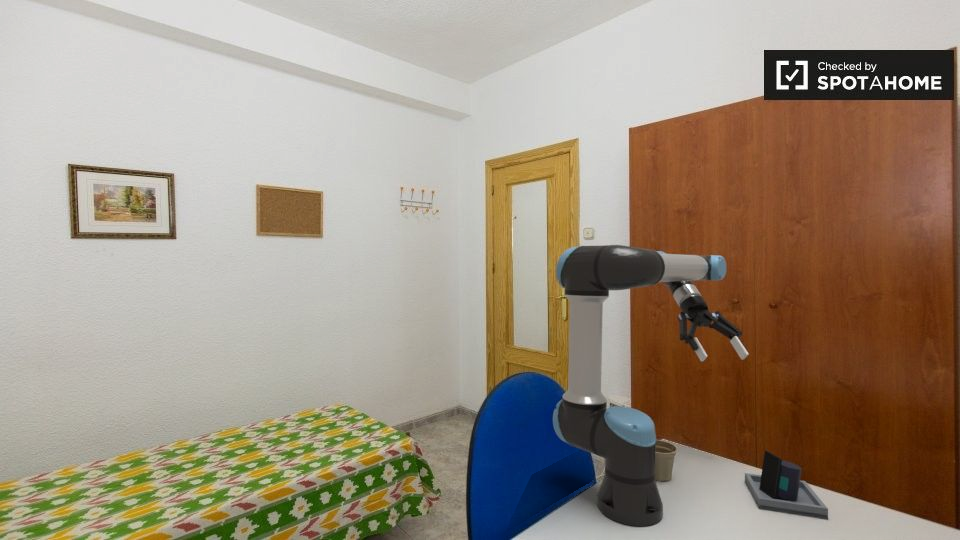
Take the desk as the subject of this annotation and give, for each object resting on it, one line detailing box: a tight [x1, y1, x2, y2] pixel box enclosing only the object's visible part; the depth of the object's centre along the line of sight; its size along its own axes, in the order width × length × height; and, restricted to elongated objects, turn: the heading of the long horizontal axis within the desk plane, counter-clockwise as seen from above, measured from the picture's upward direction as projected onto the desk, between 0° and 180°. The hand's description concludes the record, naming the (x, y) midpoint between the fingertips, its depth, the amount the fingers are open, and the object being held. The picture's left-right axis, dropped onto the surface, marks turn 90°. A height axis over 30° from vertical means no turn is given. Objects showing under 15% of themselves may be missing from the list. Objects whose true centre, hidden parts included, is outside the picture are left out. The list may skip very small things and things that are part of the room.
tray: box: [744, 472, 829, 520], centre depth 111 cm, size 14×14×2 cm
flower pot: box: [655, 439, 679, 482], centre depth 124 cm, size 9×9×9 cm
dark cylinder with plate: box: [759, 449, 803, 501], centre depth 111 cm, size 8×6×10 cm
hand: (725, 358), depth 127 cm, fingers open, 13 cm apart
